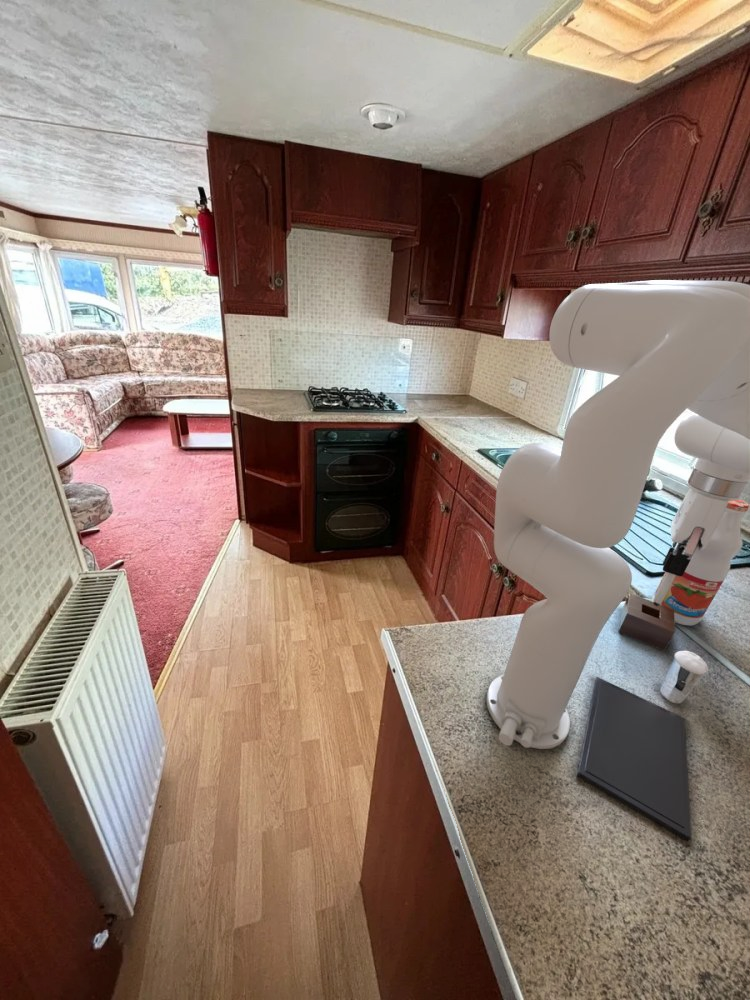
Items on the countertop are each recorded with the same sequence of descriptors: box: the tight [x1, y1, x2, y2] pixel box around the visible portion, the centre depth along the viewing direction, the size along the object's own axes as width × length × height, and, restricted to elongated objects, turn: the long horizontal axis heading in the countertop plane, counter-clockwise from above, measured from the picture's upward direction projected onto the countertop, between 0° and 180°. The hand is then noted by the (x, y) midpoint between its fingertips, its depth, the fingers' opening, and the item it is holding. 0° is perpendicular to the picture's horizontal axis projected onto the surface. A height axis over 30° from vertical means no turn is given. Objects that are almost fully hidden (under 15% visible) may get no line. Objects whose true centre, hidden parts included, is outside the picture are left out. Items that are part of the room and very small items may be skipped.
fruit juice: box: [651, 498, 750, 626], centre depth 85 cm, size 9×9×28 cm
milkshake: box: [660, 650, 715, 704], centre depth 67 cm, size 4×5×10 cm
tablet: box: [576, 676, 692, 843], centre depth 60 cm, size 20×13×1 cm, turn 147°
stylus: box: [653, 545, 685, 606], centre depth 78 cm, size 1×1×14 cm
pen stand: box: [618, 593, 676, 652], centre depth 83 cm, size 8×8×5 cm
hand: (672, 569), depth 78 cm, fingers closed on stylus, 1 cm apart
